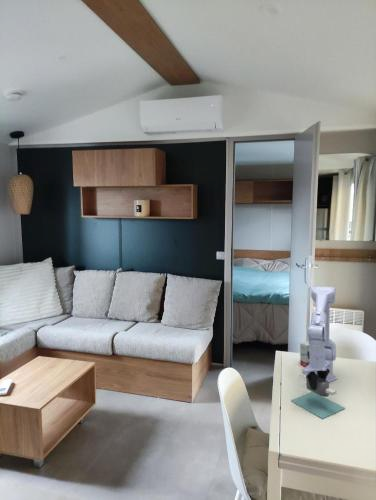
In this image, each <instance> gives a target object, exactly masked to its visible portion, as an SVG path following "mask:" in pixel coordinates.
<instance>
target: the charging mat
mask: <svg viewBox="0 0 376 500" xmlns="http://www.w3.org/2000/svg"><path fill="white" fill-rule="evenodd" d="M290 401H291V402H292V403H293V404H296V405H297V406H298V407H300V408H302V409H303V410H305V411H307V412H308V413H311V414H312V415H314V416H316V417H318V418H319V419H321V420H324V419H326V418H329V417H331V416H334V415H335V414H337V413H339V412H342V411H345V410H346V407H345V406H342V405H341V404H338V403H336V402H335V401H333V400H330V399H329V398H326V397H323V396H320V395H318V394H316V393H314V392H312V391H310V392H308V393H305V394H303V395H301V396H298V397H296V398H292V399H291V400H290Z"/></svg>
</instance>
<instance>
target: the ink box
mask: <svg viewBox="0 0 376 500" xmlns="http://www.w3.org/2000/svg"><path fill="white" fill-rule="evenodd" d="M299 344H300V345H299V348H300V350H299V351H300V352H299V353H300V354H299V355H300V356H299V361H300V366H302V367H303V368H305V367H307V366H308V365H309V364H310V360H309V343H308V340H306V341H305V340H304V341H301V342H300V343H299Z"/></svg>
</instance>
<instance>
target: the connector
mask: <svg viewBox="0 0 376 500" xmlns="http://www.w3.org/2000/svg"><path fill="white" fill-rule="evenodd" d="M305 376H306V375H305ZM305 381H306V384H305V385H306V389H307V390H309V391H310V392H314V393H316V394H318V395H320V396H323V397H325V398H326V397H328V396H329V395H330V396H335V395H336V394H337V390H335V389H333V388H331V387H330V382H328V381H327V380H325V379H322V378H320V377H318V379H317V386H316V390H313V389H311V387H310V383H309V380H308V378H307V376H306V380H305Z"/></svg>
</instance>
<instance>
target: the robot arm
mask: <svg viewBox="0 0 376 500" xmlns="http://www.w3.org/2000/svg"><path fill="white" fill-rule="evenodd" d="M336 295H337V294H336V288H335V286H318V285H317V286H316V285H312V286H311V290H310V297H311V299H312V301H313V302H314V303H315V310H314V311H313V312H312V314H311V318H310V324H309V325H308V326H307V341H308V343H309V360H310V364H309V365H308V366H307V367H303V368H302V373H301V374H302V375H304V376H307V378H308V380H309V383H310V387H311V389H313V390H316V386H317V379H318V377H320V378H322V379H325V380H327V381H328V382H329V383H330V382H332V381H335V380H338V377H336V376H334V374H333V373H334V372H333V371H334V368H333V366H334V362H335V360H336V358H337V346H336V342H334V341H333V340H332V339H331V338H330V309H331V305H332V304H333V305H334V304H335V303H336Z"/></svg>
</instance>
